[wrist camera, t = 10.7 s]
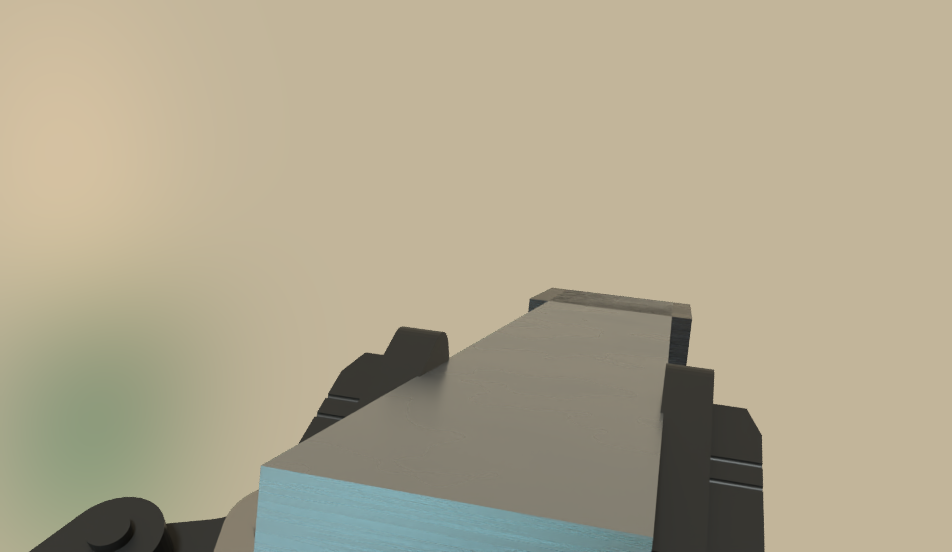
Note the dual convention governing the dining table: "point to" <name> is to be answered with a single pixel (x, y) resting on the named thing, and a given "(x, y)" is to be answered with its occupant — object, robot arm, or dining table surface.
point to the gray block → (496, 443)
